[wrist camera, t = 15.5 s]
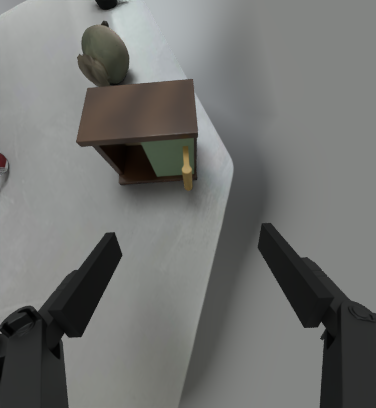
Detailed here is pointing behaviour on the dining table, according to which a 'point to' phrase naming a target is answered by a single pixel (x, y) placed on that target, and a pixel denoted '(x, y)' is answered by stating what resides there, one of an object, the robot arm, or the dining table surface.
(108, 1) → the mug
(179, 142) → the sliding door
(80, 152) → the dining table surface
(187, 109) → the cupboard
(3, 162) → the sunglasses
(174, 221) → the dining table surface
